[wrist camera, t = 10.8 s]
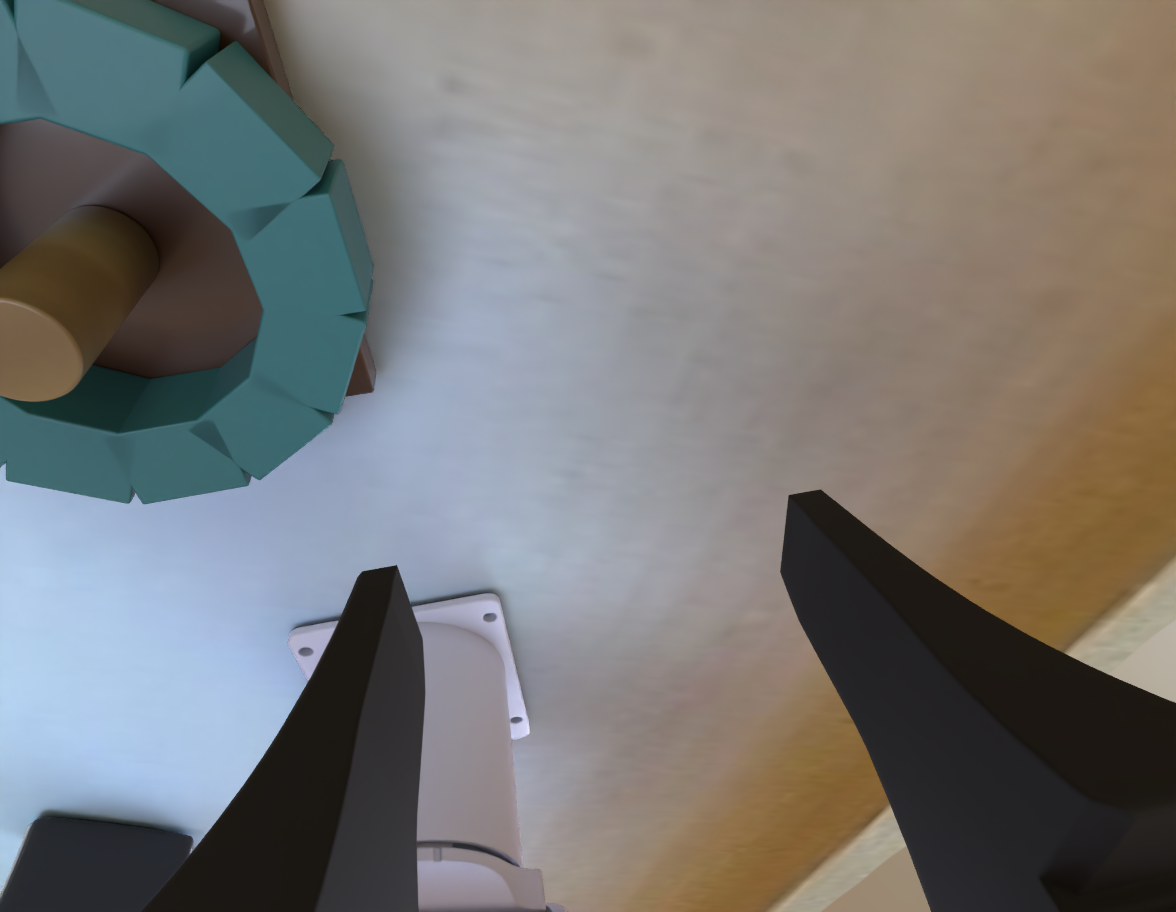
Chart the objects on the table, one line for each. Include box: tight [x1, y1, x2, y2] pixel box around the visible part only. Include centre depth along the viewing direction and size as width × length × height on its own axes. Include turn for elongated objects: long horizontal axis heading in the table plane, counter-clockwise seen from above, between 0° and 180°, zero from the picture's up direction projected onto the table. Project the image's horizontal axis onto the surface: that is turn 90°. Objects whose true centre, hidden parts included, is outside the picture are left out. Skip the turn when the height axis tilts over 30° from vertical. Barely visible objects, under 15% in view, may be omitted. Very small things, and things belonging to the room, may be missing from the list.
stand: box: [0, 0, 376, 402], centre depth 16 cm, size 10×10×6 cm
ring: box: [0, 0, 374, 504], centre depth 17 cm, size 11×11×3 cm
